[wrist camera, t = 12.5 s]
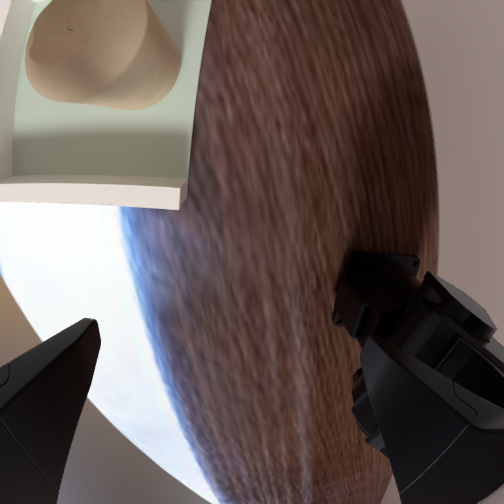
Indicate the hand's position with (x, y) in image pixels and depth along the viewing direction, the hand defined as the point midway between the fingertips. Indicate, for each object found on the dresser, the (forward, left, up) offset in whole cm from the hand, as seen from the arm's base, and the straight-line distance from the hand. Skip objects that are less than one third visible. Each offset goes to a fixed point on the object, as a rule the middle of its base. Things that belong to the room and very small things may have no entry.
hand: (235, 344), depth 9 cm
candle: (+7, -10, -12) cm, 17 cm away
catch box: (+10, -10, -12) cm, 19 cm away
